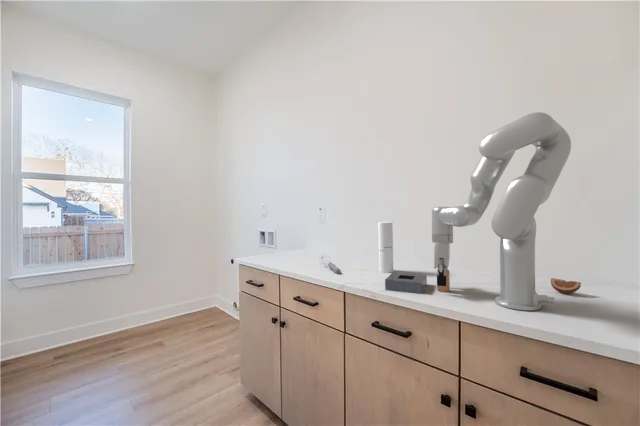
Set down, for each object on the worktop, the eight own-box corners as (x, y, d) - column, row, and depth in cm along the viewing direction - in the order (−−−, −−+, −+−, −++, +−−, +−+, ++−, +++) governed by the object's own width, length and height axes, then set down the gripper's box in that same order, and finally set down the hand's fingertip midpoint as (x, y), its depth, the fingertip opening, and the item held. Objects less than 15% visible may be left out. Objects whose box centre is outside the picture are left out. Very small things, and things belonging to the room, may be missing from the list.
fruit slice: (582, 294, 105) (582, 280, 105) (579, 298, 101) (579, 283, 101) (552, 289, 111) (552, 276, 111) (549, 293, 107) (548, 279, 107)
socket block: (426, 284, 123) (426, 274, 123) (422, 293, 111) (421, 282, 110) (393, 281, 129) (393, 272, 129) (385, 289, 117) (385, 279, 117)
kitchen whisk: (334, 276, 143) (333, 263, 143) (317, 264, 176) (316, 253, 176) (346, 275, 145) (345, 262, 145) (327, 263, 177) (326, 252, 177)
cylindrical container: (393, 272, 146) (392, 222, 145) (379, 272, 147) (377, 222, 147) (393, 269, 153) (392, 221, 152) (379, 269, 154) (378, 222, 154)
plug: (450, 289, 115) (449, 269, 114) (449, 292, 111) (449, 271, 110) (437, 288, 117) (437, 268, 116) (436, 291, 113) (436, 270, 112)
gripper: (434, 236, 123) (434, 276, 123) (429, 240, 107) (429, 287, 108) (454, 236, 119) (454, 278, 120) (451, 241, 104) (452, 289, 104)
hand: (442, 282), depth 114 cm, fingers open, 9 cm apart
